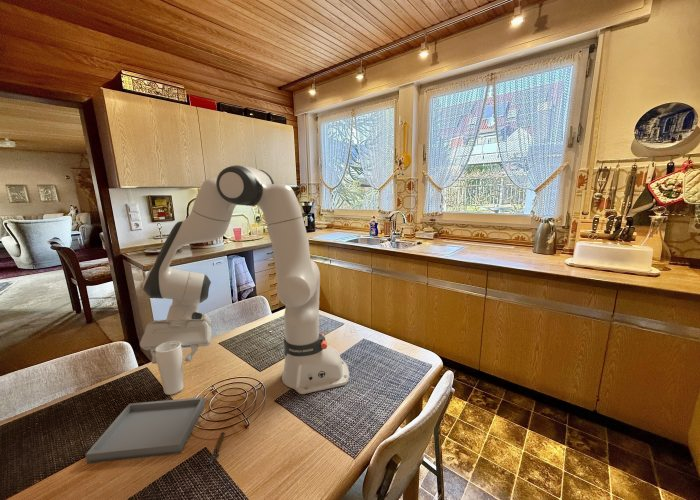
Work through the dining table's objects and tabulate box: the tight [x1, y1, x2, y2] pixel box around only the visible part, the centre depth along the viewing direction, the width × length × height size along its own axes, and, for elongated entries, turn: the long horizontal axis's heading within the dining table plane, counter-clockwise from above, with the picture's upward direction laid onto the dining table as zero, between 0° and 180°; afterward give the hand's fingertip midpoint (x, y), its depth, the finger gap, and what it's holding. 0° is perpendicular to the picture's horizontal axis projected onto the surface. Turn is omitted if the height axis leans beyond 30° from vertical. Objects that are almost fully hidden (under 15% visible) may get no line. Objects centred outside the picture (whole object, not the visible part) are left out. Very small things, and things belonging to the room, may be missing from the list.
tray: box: [84, 396, 206, 465], centre depth 74 cm, size 20×16×2 cm
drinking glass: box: [155, 341, 185, 396], centre depth 88 cm, size 7×7×15 cm
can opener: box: [208, 431, 226, 466], centre depth 68 cm, size 9×2×1 cm, turn 0°
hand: (171, 362), depth 88 cm, fingers open, 8 cm apart
